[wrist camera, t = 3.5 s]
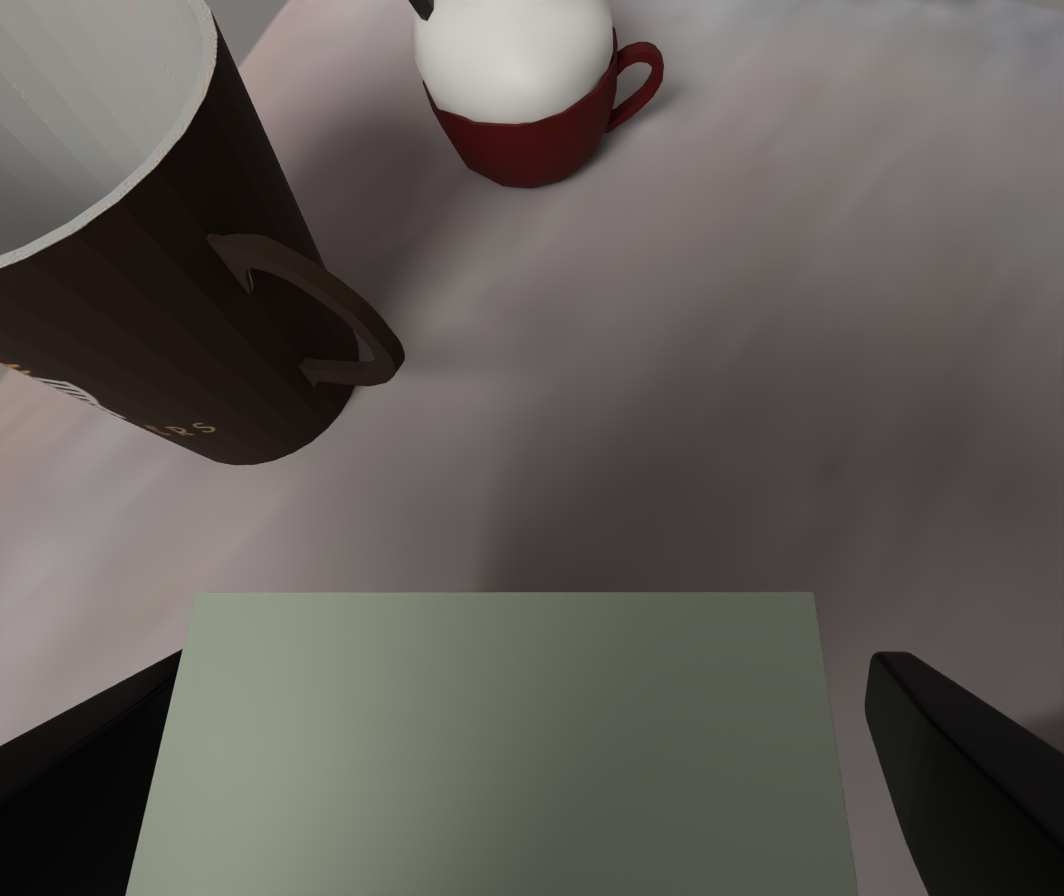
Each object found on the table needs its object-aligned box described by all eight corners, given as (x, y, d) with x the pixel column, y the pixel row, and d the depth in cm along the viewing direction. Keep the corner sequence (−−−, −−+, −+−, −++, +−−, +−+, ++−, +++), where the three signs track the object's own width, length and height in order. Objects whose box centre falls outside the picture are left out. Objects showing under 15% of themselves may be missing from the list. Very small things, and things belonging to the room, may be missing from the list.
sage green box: (706, 858, 14) (894, 1126, 4) (440, 845, 15) (91, 1047, 5) (693, 680, 16) (812, 581, 6) (453, 676, 17) (198, 582, 7)
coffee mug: (104, 359, 22) (-250, 100, 13) (320, 228, 24) (129, -92, 14) (235, 644, 18) (-174, 543, 9) (496, 463, 19) (377, 208, 10)
